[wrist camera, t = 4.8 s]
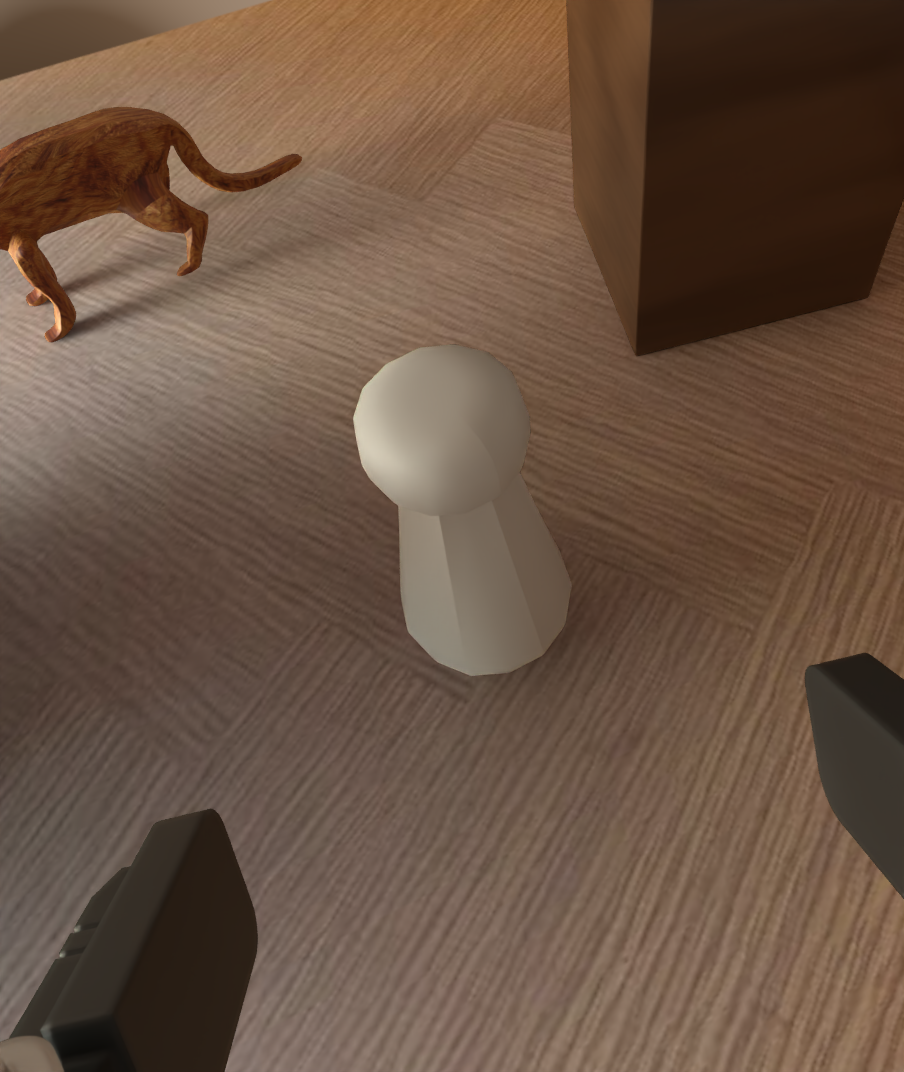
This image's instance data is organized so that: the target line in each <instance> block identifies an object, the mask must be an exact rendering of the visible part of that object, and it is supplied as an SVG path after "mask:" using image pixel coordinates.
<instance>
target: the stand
mask: <svg viewBox="0 0 904 1072" xmlns="http://www.w3.org/2000/svg"><path fill="white" fill-rule="evenodd" d="M566 6H567V32H568V58H569V84H570V110H571V136H572V162H573V188H574V207H575V209H576V212H577V214H578V217H579V219H580V222H581V224H582V226H583V229H584V231H585V234H586V236H587V239H588V241H589V244H590V246H591V248H592V251H593V253H594V256H595V258H596V261H597V263H598V265H599V268H600V270H601V273H602V275H603V278H604V280H605V282H606V285H607V287H608V290H609V292H610V295H611V297H612V300H613V302H614V304H615V307H616V309H617V312H618V314H619V317H620V319H621V321H622V324H623V326H624V329H625V331H626V334H627V336H628V338H629V341H630V343H631V346H632V348H633V351H634V353H635V355H636V356H639V355H642V354H646V353H650V352H654V351H658V350H662V349H666V348H670V347H674V346H678V345H682V344H686V343H690V342H694V341H698V340H702V339H706V338H710V337H714V336H717V335H721V334H725V333H729V332H733V331H737V330H741V329H745V328H749V327H753V326H757V325H761V324H765V323H769V322H773V321H777V320H781V319H785V318H788V317H792V316H796V315H800V314H804V313H808V312H812V311H816V310H820V309H824V308H828V307H832V306H836V305H840V304H844V303H848V302H852V301H856V300H860V299H863V298H867V297H868V296H869V294H870V291H871V288H872V285H873V283H874V280H875V277H876V274H877V271H878V269H879V266H880V263H881V260H882V258H883V255H884V252H885V249H886V246H887V244H888V241H889V238H890V235H891V232H892V230H893V227H894V224H895V221H896V218H897V216H898V213H899V210H900V207H901V204H902V202H903V199H904V0H566Z"/></svg>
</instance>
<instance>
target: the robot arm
mask: <svg viewBox="0 0 904 1072" xmlns="http://www.w3.org/2000/svg"><path fill="white" fill-rule="evenodd" d="M805 687H806V693H807V700H808V706H809V712H810V718H811V725H812V731H813V737H814V744H815V750H816V756H817V762H818V769H819V774H820V778H821V782H822V785H823V788H824V791H825V794H826V797H827V799H828V801H829V803H830V806H831V808H832V810H833V811H834V813H835V815H836V816H837V818H838V819H839V821H840V822H841V823H842V825H843V826H844V827H845V828H846V830H847V831H848V832H849V833H850V834H851V836H852V837H853V838H854V839H855V840H856V842H857V843H858V844H859V845H860V847H861V848H862V849H863V850H864V851H865V853H866V854H867V855H868V856H869V857H870V859H871V860H872V861H873V862H874V864H875V865H876V866H877V867H878V868H879V870H880V871H881V872H882V873H883V874H884V876H885V877H886V878H887V879H888V881H889V882H890V883H891V884H892V885H893V887H894V888H895V889H896V890H897V891H898V893H899V894H900V895H901V896H902V898H903V899H904V679H902V678H901V677H900V676H898V675H897V674H896V673H894V672H893V671H892V670H890V669H889V668H888V667H886V666H885V665H884V664H882V663H881V662H880V661H878V660H877V659H876V658H874V657H873V656H871V655H870V654H868V653H861V654H857V655H853V656H849V657H845V658H841V659H836V660H832V661H828V662H824V663H820V664H816V665H811V666H809V667H807V669H806V672H805ZM74 930H75V932H74V933H71V934H70V935H69V937H68V939H67V940H66V942H65V944H64V945H63V947H62V949H61V951H60V952H59V954H60V958H59V959H55V961H54V962H53V964H52V966H51V968H50V969H49V971H48V973H47V974H46V976H45V978H44V980H43V981H42V983H41V985H40V986H39V988H38V990H37V991H36V993H35V995H34V997H33V998H32V1000H31V1002H30V1003H29V1005H28V1007H27V1008H26V1010H25V1012H24V1014H23V1015H22V1017H21V1019H20V1020H19V1022H18V1024H17V1025H16V1027H15V1029H14V1031H13V1032H12V1034H11V1036H10V1037H9V1039H7V1040H3V1041H1V1042H0V1072H225V1068H226V1064H227V1061H228V1057H229V1053H230V1050H231V1046H232V1042H233V1039H234V1035H235V1031H236V1028H237V1024H238V1020H239V1017H240V1013H241V1009H242V1006H243V1002H244V998H245V995H246V991H247V988H248V984H249V980H250V977H251V973H252V969H253V966H254V962H255V958H256V954H257V944H258V933H257V922H256V916H255V911H254V907H253V904H252V901H251V898H250V895H249V893H248V890H247V887H246V884H245V881H244V879H243V876H242V873H241V870H240V867H239V865H238V862H237V859H236V856H235V853H234V851H233V848H232V845H231V842H230V839H229V837H228V834H227V831H226V828H225V826H224V823H223V821H222V819H221V817H220V815H219V814H218V813H217V812H216V811H215V810H213V809H207V810H203V811H199V812H194V813H190V814H186V815H182V816H178V817H174V818H169V819H165V820H161V821H158V822H156V823H155V824H154V825H153V827H152V828H151V830H150V832H149V834H148V835H147V837H146V839H145V841H144V843H143V845H142V846H141V848H140V850H139V852H138V854H137V855H136V857H135V859H134V861H133V863H132V865H131V866H129V867H125V868H122V869H121V870H120V871H118V872H117V873H116V874H115V875H114V876H113V877H112V878H111V879H110V880H109V881H108V882H107V883H106V884H105V885H104V886H103V887H102V888H101V889H100V890H99V891H98V892H97V893H96V894H95V895H94V896H93V897H92V898H91V900H90V901H89V903H88V905H87V906H86V908H85V910H84V911H83V913H82V915H81V917H80V918H79V920H78V922H77V923H76V925H75V927H74Z"/></svg>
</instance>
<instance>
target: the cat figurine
mask: <svg viewBox="0 0 904 1072" xmlns="http://www.w3.org/2000/svg"><path fill="white" fill-rule="evenodd" d="M171 145H172V146H174V148H175V150H176V152H177V154H178V156H179V157H180V159H181V161H182V162H183V163H184V164H185V166H186V167H187V168H188V169H189V171H190V172H191V173H192V174H193V175H195V176H196V177H197V178H198V179H199V180H201V181H202V182H204V183H206V184H207V185H209V186H210V187H213V188H215V189H218V190H220V191H226V192H241V191H246V190H250V189H253V188H257V187H259V186H261V185H263V184H266V183H268V182H270V181H272V180H273V179H275V178H277V177H278V176H280V175H282V174H284V173H286V172H287V171H289V170H291V169H293V168H294V167H296V166H297V165H299V163H300V162H301V161H302V157H301V156H299V155H298V154H291V155H288V156H285V157H283V158H280V159H278V160H276V161H274V162H272V163H270V164H269V165H267V166H264V167H262V168H260V169H257V170H255V171H250V172H245V173H234V174H230V173H224V172H221V171H219V170H217V169H215V168H214V167H213V166H212V165H210V164H209V163H208V162H207V161H206V160H205V158H204V157H203V156H202V154H201V153H200V151H199V149H198V147H197V146H196V144H195V142H194V141H193V139H192V137H191V136H190V134H189V133H188V132H187V131H186V130H185V129H184V128H183V127H182V126H181V125H180V124H179V123H178V122H177V121H175V120H173V119H172V118H170V117H168V116H166V115H165V114H162V113H159V112H155V111H152V110H148V109H140V108H132V107H114V108H107V109H102V110H99V111H95V112H92V113H90V114H87V115H84V116H82V117H79V118H76V119H74V120H71V121H68V122H65V123H62V124H59V125H56V126H53V127H50V128H47V129H44V130H41V131H39V132H36V133H33V134H31V135H28V136H25V137H23V138H20V139H18V140H17V141H15V142H13V143H11V144H10V145H8V146H6V147H4V148H3V149H1V150H0V249H2V250H6V251H9V253H10V255H11V256H12V258H13V260H14V261H15V263H16V265H17V267H18V268H19V270H20V272H21V273H22V275H23V276H24V277H25V278H26V279H27V280H28V282H29V283H30V284H31V285H32V286H33V287H35V289H34V290H33V291H32V292H31V293H29V294H28V295H27V296H26V301H27V303H28V304H29V305H31V306H38V305H41V304H43V303H44V302H46V301H47V300H48V299H50V301H51V302H52V303H53V305H54V316H55V322H56V323H55V324H54V326H53V327H52V328H51V329H50V330H48V331H47V332H46V333H45V338H46V340H47V341H48V342H54V341H57V340H59V339H61V338H63V337H64V336H65V335H66V334H67V333H68V332H69V331H70V330H71V329H72V327H73V325H74V322H75V319H76V311H75V309H74V306H73V304H72V302H71V301H70V299H69V297H68V296H67V294H66V293H65V291H64V290H63V288H62V287H61V286H60V284H59V283H58V282H57V277H56V274H55V272H54V270H53V268H52V267H51V265H50V263H49V262H48V260H47V258H46V257H45V256H44V254H43V253H42V252H41V250H40V249H39V248H38V245H37V241H38V240H39V239H40V238H41V237H42V236H43V235H45V234H49V233H52V232H55V231H57V230H60V229H63V228H66V227H69V226H72V225H75V224H78V223H81V222H83V221H86V220H89V219H92V218H95V217H99V216H102V215H105V214H108V213H126V214H128V215H129V216H131V217H132V218H134V219H135V220H137V221H139V222H141V223H142V224H144V225H146V226H148V227H151V228H154V229H156V230H159V231H162V232H176V233H184V234H185V236H186V238H187V259H188V261H187V262H186V263H185V264H184V265H182V266H181V267H180V268H179V270H178V272H177V275H178V276H183V275H186V274H188V273H191V272H193V271H194V270H196V269H197V268H199V267H200V264H201V261H202V252H203V247H204V243H205V239H206V235H207V229H208V215H207V214H206V213H205V212H203V211H200V210H197V209H195V208H193V207H191V206H189V205H188V204H186V203H185V202H183V201H181V200H180V199H179V198H178V197H176V196H175V195H174V194H173V193H172V192H170V191H169V189H170V180H169V168H168V165H167V158H168V154H169V150H170V146H171Z"/></svg>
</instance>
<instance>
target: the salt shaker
mask: <svg viewBox="0 0 904 1072" xmlns="http://www.w3.org/2000/svg"><path fill="white" fill-rule="evenodd" d="M353 420H354V428H355V435H356V440H357V445H358V449H359V454H360V459H361V464H362V466H363V468H364V470H365V472H366V473H367V475H368V477H369V479H370V480H371V481H372V482H373V483H374V484H375V485H376V486H377V487H378V488H379V489H380V490H381V491H382V492H383V493H384V494H385V495H386V496H387V497H388V498H389V499H390V500H391V501H392V502H394V503H395V504H397V505H398V510H399V547H400V584H401V601H402V606H403V611H404V616H405V621H406V626H407V630H408V632H409V634H410V635H411V636H412V637H413V638H414V639H415V640H416V641H417V642H418V643H419V644H420V645H421V646H422V648H423V649H424V650H425V651H426V652H427V653H428V654H429V655H430V656H431V657H432V658H433V659H434V660H435V661H436V662H438V663H440V664H443V665H445V666H447V667H450V668H452V669H455V670H457V671H460V672H462V673H464V674H467V675H469V676H477V675H490V674H503V673H510V672H512V671H514V670H516V669H518V668H520V667H522V666H524V665H525V664H527V663H529V662H531V661H533V660H535V659H537V658H539V657H541V656H543V655H544V653H545V652H546V650H547V649H548V648H549V646H550V645H551V644H552V642H553V641H554V640H555V638H556V637H557V636H558V634H559V633H560V631H561V630H562V629H563V627H564V626H565V622H566V617H567V611H568V605H569V599H570V593H571V587H572V583H571V581H570V578H569V575H568V572H567V569H566V567H565V564H564V561H563V558H562V555H561V553H560V551H559V549H558V547H557V545H556V543H555V541H554V539H553V537H552V535H551V533H550V531H549V530H548V528H547V526H546V524H545V522H544V520H543V518H542V516H541V514H540V512H539V510H538V508H537V506H536V505H535V503H534V501H533V499H532V497H531V495H530V493H529V490H528V488H527V486H526V484H525V482H524V480H523V477H522V475H521V473H520V471H521V469H522V467H523V464H524V460H525V456H526V451H527V447H528V442H529V437H530V433H531V430H530V416H529V413H528V410H527V408H526V405H525V403H524V400H523V397H522V395H521V392H520V390H519V387H518V385H517V382H516V380H515V378H514V375H513V373H512V371H510V370H509V369H508V368H507V367H506V366H504V365H503V364H502V363H501V362H500V361H498V360H497V359H496V358H495V357H494V356H492V355H491V354H490V353H489V352H486V351H482V350H478V349H474V348H469V347H465V346H461V345H457V344H450V345H441V346H431V347H422V348H417V349H415V350H413V351H411V352H409V353H407V354H405V355H403V356H401V357H399V358H397V359H395V360H393V361H391V362H389V363H387V364H386V365H385V366H384V367H383V368H382V369H381V370H380V371H379V372H378V373H377V374H376V375H375V376H374V377H373V378H372V379H371V380H370V381H369V382H368V383H367V384H366V385H365V386H364V387H363V389H362V392H361V395H360V398H359V401H358V404H357V408H356V411H355V414H354V417H353Z"/></svg>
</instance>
